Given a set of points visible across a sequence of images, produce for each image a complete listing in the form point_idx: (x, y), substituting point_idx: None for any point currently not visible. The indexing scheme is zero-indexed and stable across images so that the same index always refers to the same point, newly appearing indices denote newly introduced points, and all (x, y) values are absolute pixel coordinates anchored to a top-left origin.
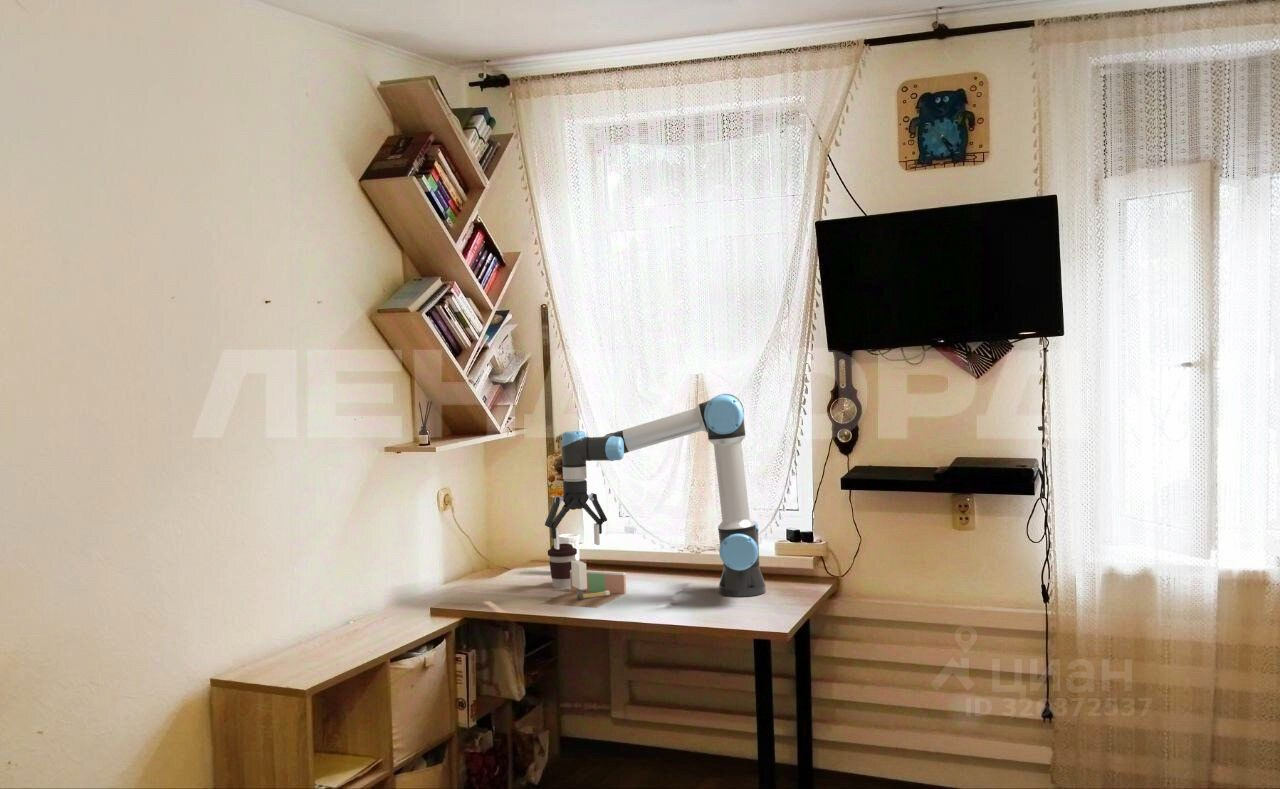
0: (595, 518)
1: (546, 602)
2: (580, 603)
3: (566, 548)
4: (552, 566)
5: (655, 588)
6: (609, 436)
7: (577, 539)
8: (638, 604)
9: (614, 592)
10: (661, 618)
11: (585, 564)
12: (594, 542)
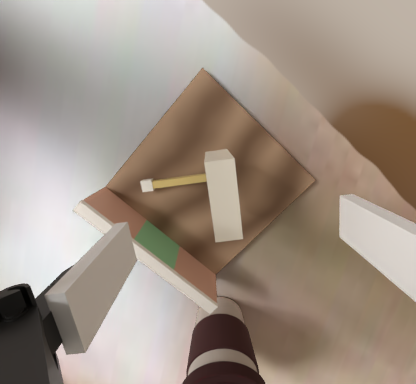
0: (33, 346)
1: (299, 183)
2: (227, 134)
3: None
4: (253, 352)
5: (27, 238)
6: None
7: None
8: (88, 98)
9: (126, 204)
10: None
11: (207, 161)
12: (134, 262)
